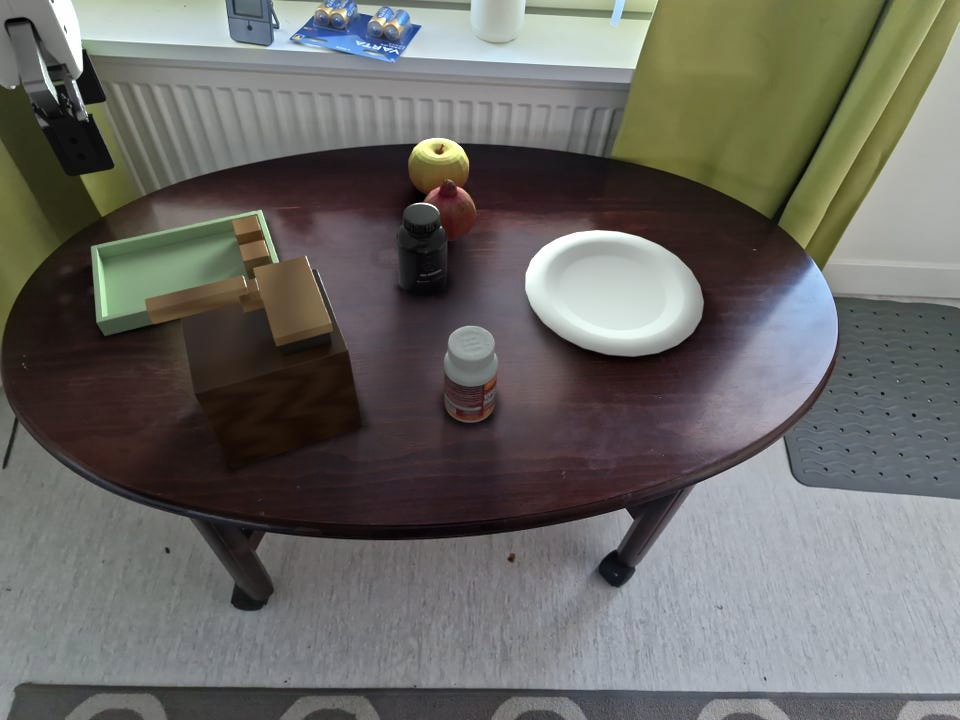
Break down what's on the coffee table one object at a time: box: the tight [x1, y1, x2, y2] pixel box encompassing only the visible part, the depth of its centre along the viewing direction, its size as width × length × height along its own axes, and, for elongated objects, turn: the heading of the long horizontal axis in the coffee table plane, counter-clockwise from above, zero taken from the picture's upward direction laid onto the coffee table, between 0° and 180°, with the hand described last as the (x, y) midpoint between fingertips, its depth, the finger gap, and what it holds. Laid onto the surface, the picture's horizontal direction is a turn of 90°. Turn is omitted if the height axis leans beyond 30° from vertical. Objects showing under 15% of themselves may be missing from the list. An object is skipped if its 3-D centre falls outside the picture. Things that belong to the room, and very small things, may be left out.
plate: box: [524, 229, 705, 358], centre depth 91 cm, size 25×25×2 cm
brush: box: [145, 255, 333, 356], centre depth 64 cm, size 16×11×6 cm
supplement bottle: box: [395, 202, 449, 298], centre depth 87 cm, size 7×7×12 cm
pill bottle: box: [443, 325, 499, 424], centre depth 75 cm, size 6×6×11 cm
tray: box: [90, 209, 280, 337], centre depth 90 cm, size 24×16×3 cm, turn 113°
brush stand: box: [179, 268, 364, 469], centre depth 72 cm, size 15×13×14 cm
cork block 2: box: [239, 240, 271, 280], centre depth 90 cm, size 4×4×4 cm
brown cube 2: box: [232, 216, 264, 245], centre depth 94 cm, size 4×4×4 cm
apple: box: [407, 137, 470, 196], centre depth 103 cm, size 10×10×8 cm
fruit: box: [422, 180, 477, 242], centre depth 95 cm, size 8×8×10 cm
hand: (88, 135), depth 49 cm, fingers open, 9 cm apart
